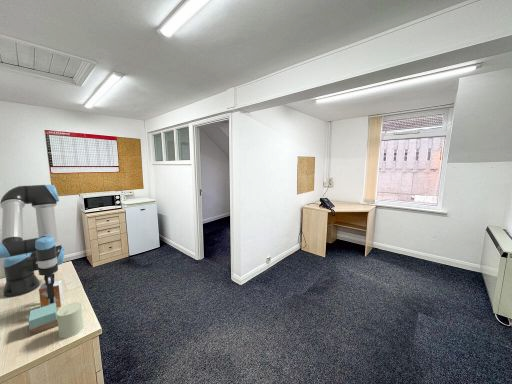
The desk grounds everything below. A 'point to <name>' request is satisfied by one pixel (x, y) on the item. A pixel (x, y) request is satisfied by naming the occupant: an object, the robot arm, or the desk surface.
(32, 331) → the bottom slab
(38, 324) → the top slab
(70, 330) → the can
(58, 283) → the small box
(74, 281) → the desk surface
